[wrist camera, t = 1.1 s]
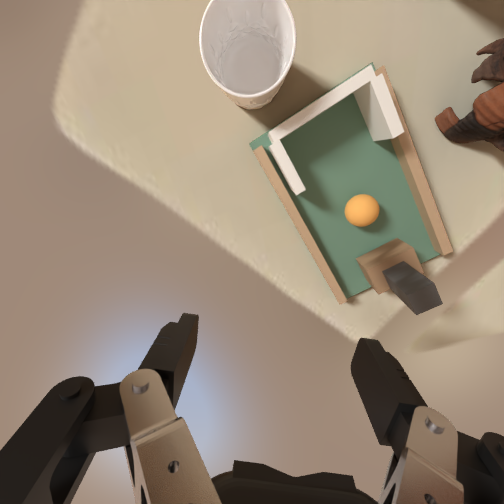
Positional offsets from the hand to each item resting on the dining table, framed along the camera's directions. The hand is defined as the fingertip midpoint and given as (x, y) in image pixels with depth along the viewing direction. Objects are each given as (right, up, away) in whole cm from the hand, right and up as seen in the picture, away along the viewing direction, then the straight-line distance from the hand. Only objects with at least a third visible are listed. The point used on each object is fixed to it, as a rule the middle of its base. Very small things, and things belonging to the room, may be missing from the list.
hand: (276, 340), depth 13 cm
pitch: (+12, +11, +22) cm, 28 cm away
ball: (+13, +10, +19) cm, 25 cm away
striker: (+17, +3, +23) cm, 29 cm away
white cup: (-1, +25, +18) cm, 31 cm away
